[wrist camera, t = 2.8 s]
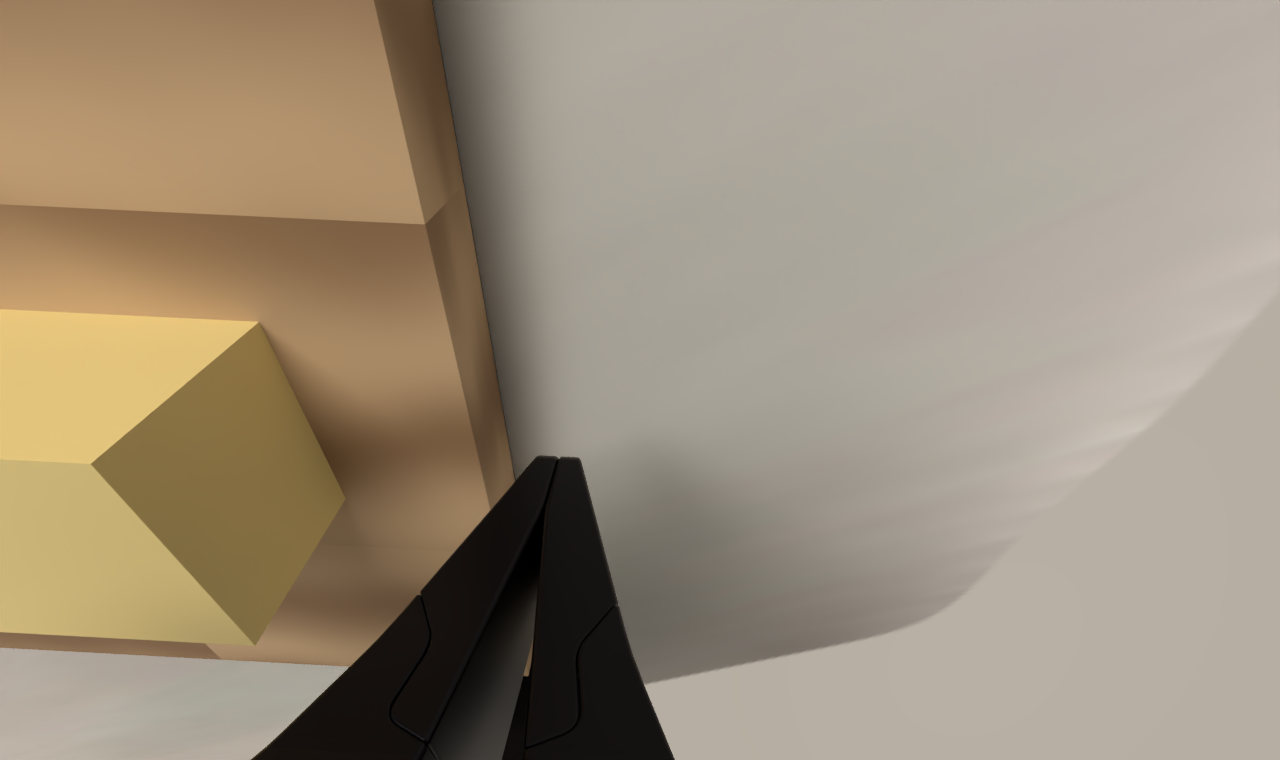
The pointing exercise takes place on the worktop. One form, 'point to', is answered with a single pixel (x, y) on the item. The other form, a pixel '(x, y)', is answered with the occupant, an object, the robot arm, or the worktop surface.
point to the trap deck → (272, 256)
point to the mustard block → (151, 478)
